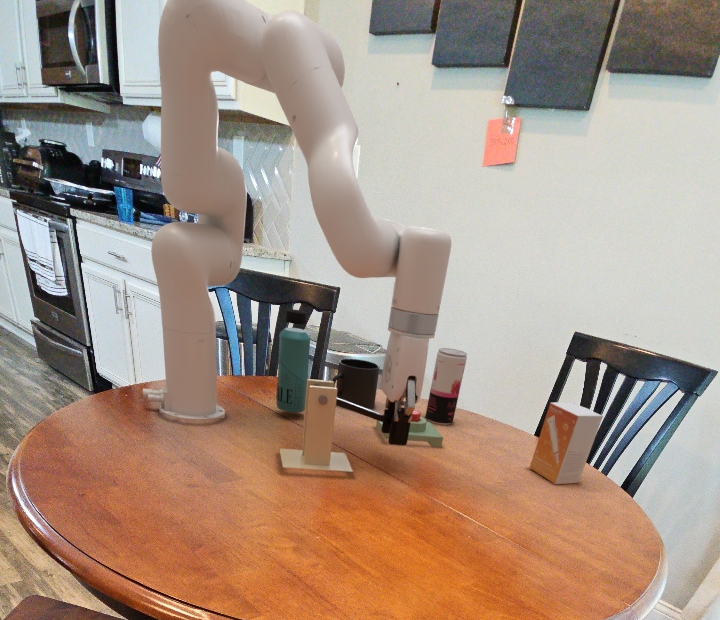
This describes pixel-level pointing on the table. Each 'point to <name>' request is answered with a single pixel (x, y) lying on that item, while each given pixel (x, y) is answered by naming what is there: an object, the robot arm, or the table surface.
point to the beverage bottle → (293, 364)
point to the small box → (565, 442)
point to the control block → (420, 432)
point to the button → (416, 416)
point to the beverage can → (445, 386)
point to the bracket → (317, 432)
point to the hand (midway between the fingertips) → (393, 437)
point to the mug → (357, 382)
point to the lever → (364, 411)
